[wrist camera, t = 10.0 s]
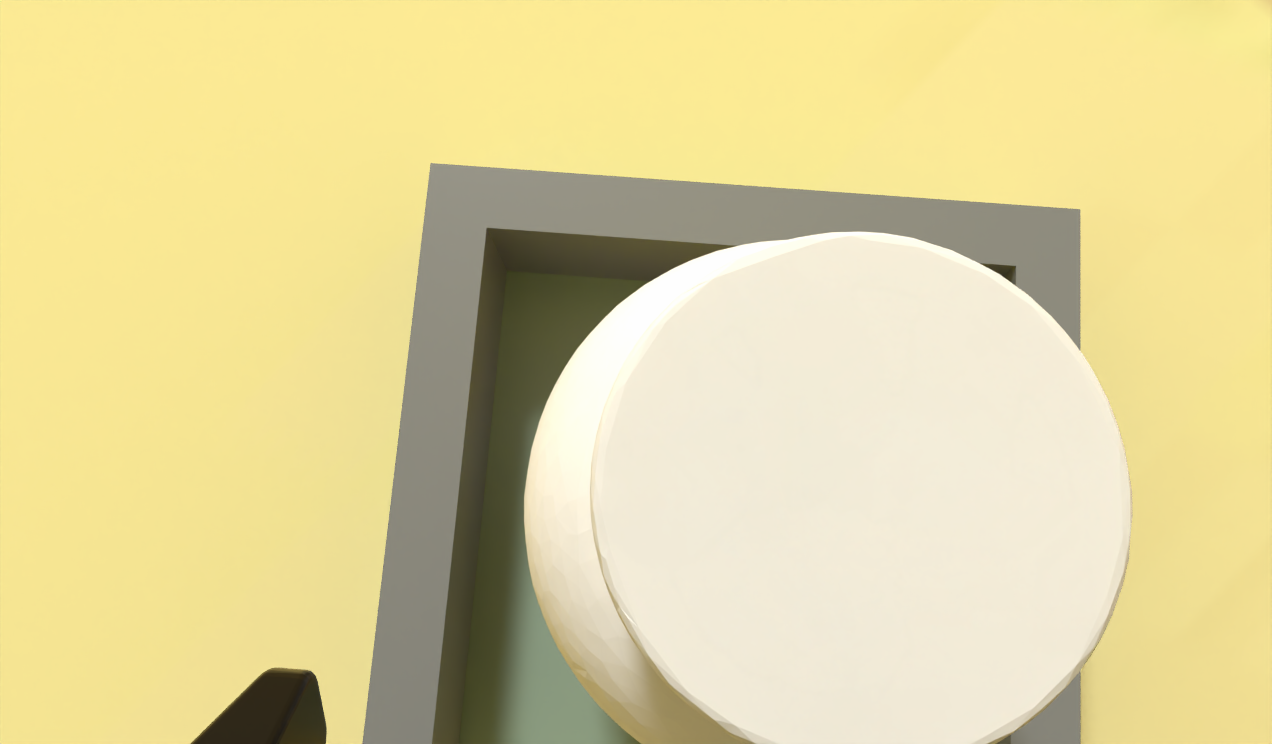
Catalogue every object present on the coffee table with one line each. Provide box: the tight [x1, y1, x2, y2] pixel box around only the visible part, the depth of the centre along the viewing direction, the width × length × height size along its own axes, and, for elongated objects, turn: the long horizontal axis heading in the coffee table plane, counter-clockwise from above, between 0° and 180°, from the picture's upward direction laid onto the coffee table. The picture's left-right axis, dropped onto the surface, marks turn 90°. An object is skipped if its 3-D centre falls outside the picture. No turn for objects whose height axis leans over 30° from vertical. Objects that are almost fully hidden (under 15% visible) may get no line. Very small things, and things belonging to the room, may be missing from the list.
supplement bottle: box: [524, 232, 1132, 744], centre depth 15 cm, size 7×7×13 cm
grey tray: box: [363, 163, 1080, 744], centre depth 20 cm, size 11×12×4 cm
